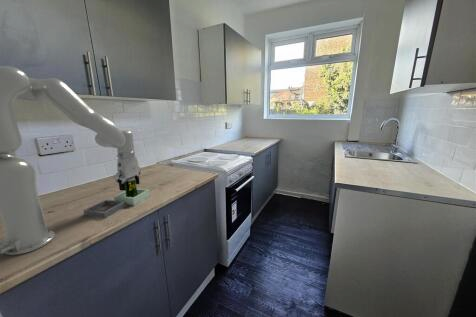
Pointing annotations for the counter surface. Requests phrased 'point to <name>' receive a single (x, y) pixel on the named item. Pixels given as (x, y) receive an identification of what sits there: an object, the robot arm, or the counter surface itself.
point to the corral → (117, 206)
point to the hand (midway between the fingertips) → (130, 187)
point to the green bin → (133, 201)
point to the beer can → (131, 187)
